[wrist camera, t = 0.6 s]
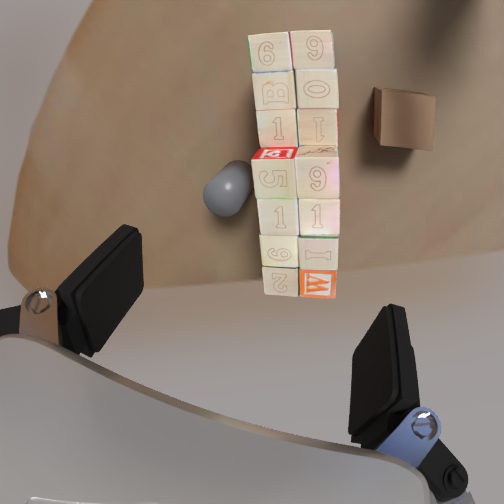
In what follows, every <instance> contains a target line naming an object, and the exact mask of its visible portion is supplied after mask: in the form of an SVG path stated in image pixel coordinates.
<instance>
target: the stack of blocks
mask: <svg viewBox="0 0 504 504" xmlns="http://www.w3.org/2000/svg"><path fill="white" fill-rule="evenodd" d="M248 43H249V51H250V60H251V66H252V71H253V73H252V81H253V90H254V98H255V107H256V118H257V128H258V135H259V143H260V147H261V149H259V150H258V151H257V153H256V154H255V155H254V156H253V157H252V159H251V164H252V172H253V181H254V189H255V197H256V198H257V208H258V217H259V226H260V234H259V239H260V248H261V258H262V265H263V266H262V274H263V286H264V293H265V294H266V295H278V296H290V297H298V296H299V295H300V296H301V297H307V298H308V297H309V298H330V299H332V298H335V292H336V277H337V268H338V236H339V235H340V177H339V144H338V108H339V94H338V77H337V69H336V68H335V57H334V41H333V35H332V31H331V30H308V31H290V32H278V33H267V34H257V35H249V36H248Z"/></svg>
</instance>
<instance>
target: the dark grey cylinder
mask: <svg viewBox="0 0 504 504" xmlns="http://www.w3.org/2000/svg"><path fill="white" fill-rule="evenodd" d="M253 187H254V181H253V172H252V167H251V166H250V165H249V164H248V163H246V162H244V161H239V160H237V161H232V162H230V163H228V164H227V165H226V166H225V167H224V168H223V169H222V170H221V171H220V172H219V173H218V174H217V175H216V176H215V177H214V178H213V179H212V180H211V181H210V182H209V183H208V184H207V185H206V186H205V188H204V191H203V199H204V202H205V204H206V206H207V207H208V209H209V210H210V211H211V212H213V213H214V214H216V215H219V216H231V215H234V214H235V213H237V212H238V211H239V210H240V208H241V206H242V205H243V203H244V202H245V200H246V198H247V197H248V195H249V194H250V192H251V191H252V189H253Z"/></svg>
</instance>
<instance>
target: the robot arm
mask: <svg viewBox="0 0 504 504" xmlns="http://www.w3.org/2000/svg"><path fill="white" fill-rule="evenodd" d="M143 287H144V281H143V261H142V235H141V233H139V231H138V229H137V228H135V227H132V226H129V225H126V224H123V225H122V226H121V227H119V228H118V229H117V230H116V231H115V232H114V233H113V234H112V235H111V236H110V237H109V238H107V239H106V240H105V241H104V242H103V243H102V244H101V245H100V246H99V247H98V248H97V249H96V250H95V251H94V252H93V253H92V254H91V255H90V256H89V257H88V258H86V259H85V260H84V261H83V262H82V263H81V264H80V265H79V266H78V267H77V268H76V269H75V270H74V271H73V272H72V273H71V274H70V275H69V276H68V277H67V279H66V280H65V281H64V282H63V283H62V284H61V285H60V286H59V287H58V289H57V290H56V291H55V292H54V291H53V290H51V289H50V288H46V287H39V288H35V289H33V290H31V291H29V292H28V293H27V294H26V295H25V297H24V298H23V300H22V303H21V305H19V306H15V307H10V308H5V309H1V310H0V504H475V502H474V500H473V498H472V495H471V493H470V492H468V493H467V492H466V488H467V484H468V475H467V472H466V470H465V468H464V467H463V465H462V464H461V463H460V462H459V461H458V460H457V459H456V457H455V456H454V455H453V454H452V453H451V452H450V451H449V449H448V448H447V447H446V446H445V445H444V444H443V443H442V442H441V440H440V439H439V436H440V434H441V424H440V420H439V418H438V416H437V415H436V414H435V413H434V412H433V411H432V410H430V409H428V408H425V407H420V399H419V389H418V379H417V371H416V363H415V355H414V349H413V347H412V346H411V343H410V336H409V330H408V324H407V318H406V312H405V308H404V307H401V306H397V305H394V304H389V305H388V306H387V307H386V306H384V307H383V308H382V309H381V311H380V313H379V314H378V316H377V317H376V319H375V320H374V322H373V324H372V325H371V327H370V328H369V330H368V331H367V333H366V334H365V336H364V338H363V339H362V340H361V342H360V343H359V345H358V346H357V348H356V349H355V351H354V354H353V358H352V381H351V399H350V400H351V401H350V414H349V426H348V432H349V434H351V435H352V436H351V442H353V443H359V444H361V448H359V447H354V446H348V445H343V444H337V443H332V442H327V441H322V440H317V439H312V438H308V437H303V436H298V435H293V434H289V433H285V432H281V431H277V430H273V429H269V428H265V427H262V426H258V425H254V424H251V423H247V422H244V421H240V420H237V419H234V418H230V417H227V416H224V415H221V414H218V413H215V412H212V411H209V410H206V409H203V408H200V407H197V406H194V405H192V404H189V403H186V402H183V401H181V400H178V399H176V398H173V397H170V396H168V395H165V394H163V393H160V392H158V391H155V390H153V389H151V388H148V387H146V386H143V385H141V384H139V383H136V382H134V381H132V380H130V379H127V378H125V377H123V376H121V375H119V374H117V373H114V372H112V371H110V370H108V369H106V368H104V367H102V366H100V365H98V364H96V363H94V362H92V361H90V360H87V359H86V358H84V357H82V356H80V355H79V354H80V353H83V354H85V355H87V356H88V357H92V356H93V354H94V353H95V352H99V351H100V350H101V348H102V347H103V346H104V344H105V343H106V341H107V340H108V339H109V337H110V336H111V334H112V333H113V331H114V330H115V329H116V327H117V326H118V324H119V323H120V321H121V320H122V319H123V317H124V316H125V315H126V313H127V312H128V310H129V309H130V308H131V306H132V305H133V304H134V302H135V301H136V300H137V298H138V297H139V296H140V294H141V293H142V290H143Z"/></svg>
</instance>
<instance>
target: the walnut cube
mask: <svg viewBox="0 0 504 504" xmlns="http://www.w3.org/2000/svg"><path fill="white" fill-rule="evenodd" d="M435 109H436V97H433V96H430V95H427V94H423V93H419V92H412V91H404V90H397V89H388V88H378V87H374V132H373V134H374V136H375V138H376V139H377V141H378V142H379V144H380V145H383V146H393V147H403V148H411V149H419V150H427V151H432V149H433V138H434V125H435Z"/></svg>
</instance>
